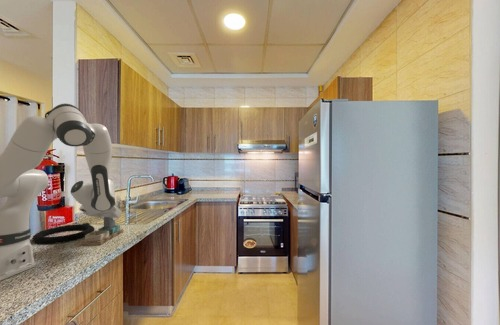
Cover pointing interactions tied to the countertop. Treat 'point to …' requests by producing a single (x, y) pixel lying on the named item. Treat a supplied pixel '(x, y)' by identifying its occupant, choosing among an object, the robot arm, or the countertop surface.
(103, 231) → the brown divided tray
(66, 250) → the countertop surface
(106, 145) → the robot arm
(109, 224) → the knob
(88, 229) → the cable lock
